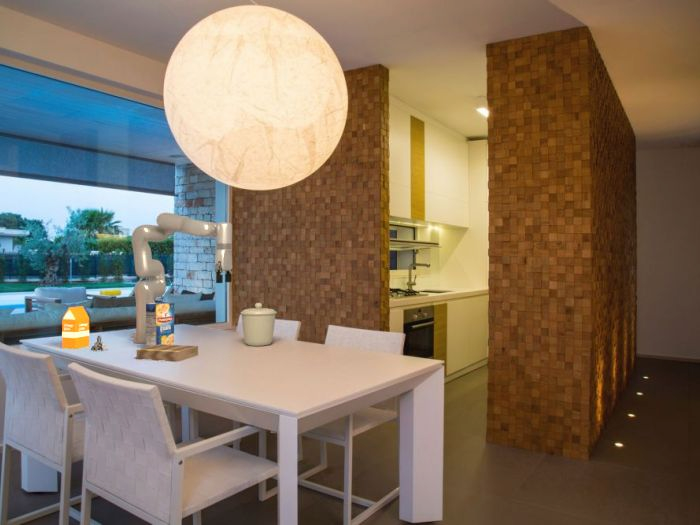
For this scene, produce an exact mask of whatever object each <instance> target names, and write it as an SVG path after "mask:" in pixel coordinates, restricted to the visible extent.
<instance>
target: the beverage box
mask: <svg viewBox="0 0 700 525" xmlns="http://www.w3.org/2000/svg"><path fill="white" fill-rule="evenodd" d="M158 344H164V345H175V302H165V301H164V302H163V301H162V302H161V301H160V302H155V303H149V304H146V343H145V348H146V347H150V346H154V345H158Z"/></svg>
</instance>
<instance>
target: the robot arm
mask: <svg viewBox="0 0 700 525" xmlns="http://www.w3.org/2000/svg"><path fill="white" fill-rule="evenodd" d="M156 224H157V225H156ZM156 224H155V225H154V224H142V225H139V226H137V227H136V228H135V229H134V230H133V231H132V234H131V245H132V250H133V260H134V269H135V274H136V276H137V277H139V278H142V279H143V278H145V279H146V278H148V279H146V280H145V279H144V280H141V281H139V282H137V283H136V284H135V286H134V296H135V297H134V298H135V304H136V305H135V306H136V307H135V308H136V310H135V311H136V314H135V315H136V319H135V321H136V324H135V325H136V326H135V327H136V332H135V333H131V335H130V338H134V339H133V341H132V343H134V344H139V343H142V344H144V343H145V344H146V304H149V303H156V302H155V299H158V298H159V299H160V298H161V297H163V296H164V295H165V293H166V288H167V285H166V277H165V268H164V264H163V263H162V262H161V261H160V260H158V259H155V258H153V256H152V250H151V246H150V245H149V243H148V242H153V243H160V242H161V243H162V242H164V241H165V240H166V239H169V238H170V237H171V236H172V235H174V234H175V233H181V234H184V235H185V234H187V235H190V236H195V237H196V236H197V237H200V238H210V239H211V238H212V239H213V238H216V239H215V240H216V241H215V243H216V244H215V248H216V249H215V256H214V271H215V283H216V284H223V280H224V278H225V280H224V282H225V283H232V280H233V279H232V278H233V268H234V265H233V256H232V251H233V224H232V223H231V222H225V221H224V222H223V221H222V222H221V221H219V222H213V221H212V222H211V221H205V220H204V221H203V220H199V219H198V220H197V219H192V218H190V217H189V216H186V215H180V214H177V213H173V212H172V213H171V212H162V213H160V214H158V216H156ZM223 272H225V274H224V275H223ZM223 276H225V277H224V278H223ZM142 344H141V345H142ZM145 344H144V345H145Z"/></svg>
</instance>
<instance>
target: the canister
mask: <svg viewBox="0 0 700 525" xmlns="http://www.w3.org/2000/svg"><path fill="white" fill-rule="evenodd" d="M254 307H255V308H253V307H252V308H251V307H250V308H246V309H242V311H240V315H241V322H242V333H243V338H244V343H245V344H246V345H248V346H250V347H265V346H269V345H271V343H272V342H273V338H274V330H275V320H276V314H277V311H276V310H275V309H273V308H267V307H263V304H262V303H261V302H257V303H255V305H254Z"/></svg>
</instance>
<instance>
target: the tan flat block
mask: <svg viewBox="0 0 700 525" xmlns="http://www.w3.org/2000/svg"><path fill="white" fill-rule="evenodd" d="M196 356H199V346H198V345H197V346H196V345H183V344H182V345H179V344H174V345H164V344H158V345H154V346H150V347H146V346H145V347H143V348H137V349H136V360H142V359H152V360H151V361H159V360H165V361H164V362H175V361H178V362H181V361H184V360H187V358H188V359H190V358H194V357H196Z"/></svg>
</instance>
